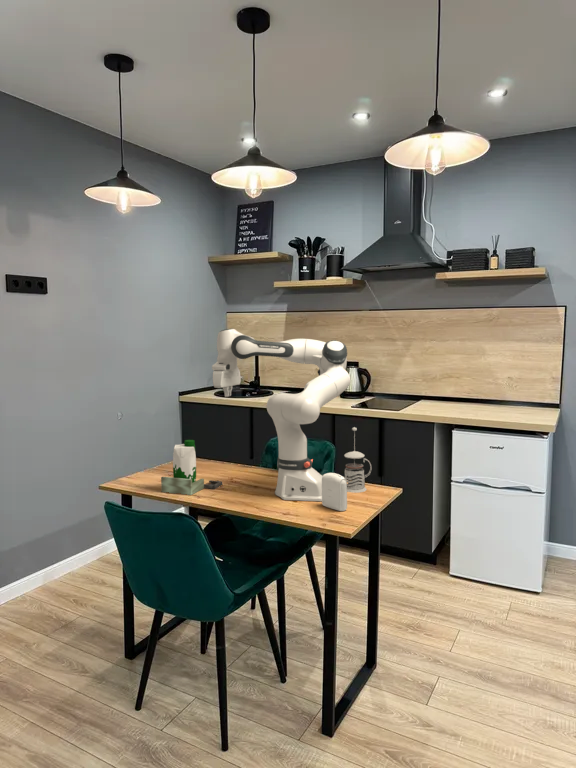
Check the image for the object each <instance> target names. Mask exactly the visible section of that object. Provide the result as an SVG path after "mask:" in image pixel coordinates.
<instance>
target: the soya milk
mask: <svg viewBox="0 0 576 768" xmlns="http://www.w3.org/2000/svg"><path fill="white" fill-rule="evenodd" d="M172 473H173V474H172V475H173V476H172V477H173V478H183V479H192V483H193V482H196V481H197V456H196V443H195V440H194V439H185V440H184V442H183V443H181V444H174V447H173V453H172Z"/></svg>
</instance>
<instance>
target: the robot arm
mask: <svg viewBox="0 0 576 768" xmlns="http://www.w3.org/2000/svg"><path fill="white" fill-rule="evenodd" d="M347 348H348V347H347V345H346V344H345V343H343V342H342V341H340V340H336V339H335V340H334V339H333V340H329V341H328V340H327V342H325V341H322V340H319V339H318V340H317V339H312V338H292V339H291V338H290V339H286V340H281V341H264V340H257V339H255V338H254V337H252V336H250V335H246V334H244V333H242V332H240V331H238V330H237V329H235V328H226V329H222V330H220V331H219V332H218V333H217V339H216V350H217V358H216V362H215V363H213V364H212V365H211V370H212V371H213V372H212V385H213V387H214V388H215V389H216V388H217V389H220V388H222V389H223V393H224V397H225V398H226V397H227V398H228V397H231V396H232V390H233V386H240V385H241V382H242V381H241V380H242V379H241V370H240V369H239V366H238V359H239V360H240V359H241V360H246V359H249V358H252V357H256V356H258V357H259V356H260V357H272V358H273V357H274V358H279V359H283V360H286V361H288V362H291V363H294V364H295V363H296V364H302V365H314V366H317V368H318V370H317V374H318V376H316V377H315V378H312V379H311V380H310V381H308V382H306V383H305V385H304V388H303V390H302V391H301V392H299V393H288V392H287V393H286V392H280V393H276V394H275V393H274V394H273V395H271V396H270V397H269V398H268V399H267V401H266V410H267V413H268V415H269V416H270V417H271V419H272V421H273V424H274V426H275V431H276V434H277V441H278V442H277V443H278V457H277V465H276V466H277V473H278V474H277V482H276V483H277V484H276V487H275V491H274V494H275V496H277V497H280V499H282V500H284V501H306V502H308V501H309V502H322V477H323V474H321V473H320V472H318V471H317V470H316V469H315V468H313V467H312V466H313V460H314V459H313V458H312V459H310V458H309V457H308V439H307V436H306V434H305V433H304V432H303V430H302V428H301V425H309V424H313V423H314V422H316V421H317V419H319V416H320V414H321V413H320V412H321V408H322V407H324V406H325V405H326V404H328V403H330V402H331V401H333V400H334V399H335V398H337V397H338V396H340V395H341V394H342V393H343V392H344V391H346V390H347V388H348V387H349V386H350V384H351V377H350V373H348V371H347V370H346V369H347V363H348V362H347V361H348V360H347V359H348V358H347V357H348V349H347Z"/></svg>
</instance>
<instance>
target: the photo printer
mask: <svg viewBox="0 0 576 768" xmlns="http://www.w3.org/2000/svg"><path fill="white" fill-rule="evenodd" d="M322 476H323V477H322V501H321V505H322V506H324V507H326V508H329V509H332V510H335V511H340V512H344V511H347V509H348V492H347V484H348V482H347V481H348V480H347V481H346V479H345V476H343V475H341V474H339V473H335V472H327V473H324V474H322Z"/></svg>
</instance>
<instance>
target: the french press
mask: <svg viewBox="0 0 576 768" xmlns="http://www.w3.org/2000/svg"><path fill="white" fill-rule="evenodd" d="M357 430H358V429H357V427H355V426H354V427H352V428H351V431H353V433H354V436H353V439H354V441H353V442H354V443H353V445H354V446H353V449H354V450H353V451H349V452H346V453H345V454H344V455H343V456H344V458H346V459H353V463H351V462H350V463H346V464H345V468H344V478H345V479H346V481H347V493H352V494H353V493H365V492H366V491H367V488H366V486H365V485H366V484H365V483H366V481H365V478H367V477H368V476H370V475H371V474H372V473H371V472H372V469H373V468H372V464H371V462H370V460H368V459H367V458H366V457H365V454H364V453H362V452H360V451H356V446H355V445H356V438H355V437H356V431H357ZM356 459H357V460H358V459H362V460H363V463H365V462H366V461H367V462H368V463H369V467H370V469H369V471H368V473H367V474H365V468H363V467H364V464H362V463H357V462H355V460H356Z"/></svg>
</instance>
